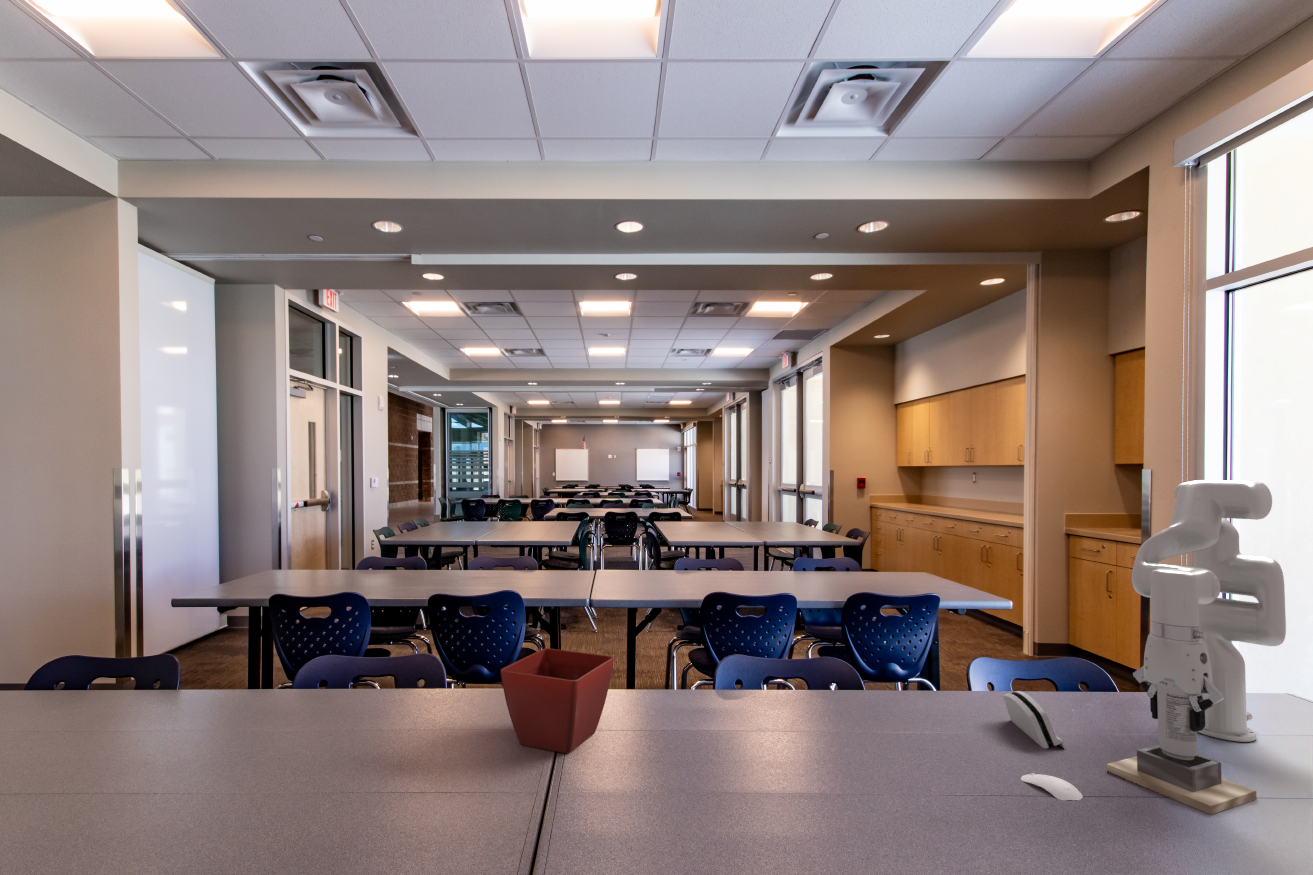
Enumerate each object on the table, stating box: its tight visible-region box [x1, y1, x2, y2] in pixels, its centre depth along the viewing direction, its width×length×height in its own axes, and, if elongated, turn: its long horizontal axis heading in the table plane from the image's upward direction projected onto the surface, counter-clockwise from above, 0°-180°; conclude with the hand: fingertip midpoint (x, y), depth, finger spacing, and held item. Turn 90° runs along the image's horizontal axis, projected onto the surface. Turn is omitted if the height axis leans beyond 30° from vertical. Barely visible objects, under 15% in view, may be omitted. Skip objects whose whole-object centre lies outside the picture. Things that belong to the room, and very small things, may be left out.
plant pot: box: [500, 648, 614, 754], centre depth 145 cm, size 19×19×17 cm
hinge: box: [1002, 690, 1067, 750], centre depth 152 cm, size 17×5×10 cm, turn 174°
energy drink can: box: [1157, 678, 1199, 760], centre depth 128 cm, size 6×6×15 cm
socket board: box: [1106, 744, 1257, 816], centre depth 127 cm, size 15×18×6 cm
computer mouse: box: [1020, 772, 1083, 801], centre depth 126 cm, size 7×12×2 cm, turn 21°
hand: (1177, 722), depth 128 cm, fingers closed on energy drink can, 6 cm apart
